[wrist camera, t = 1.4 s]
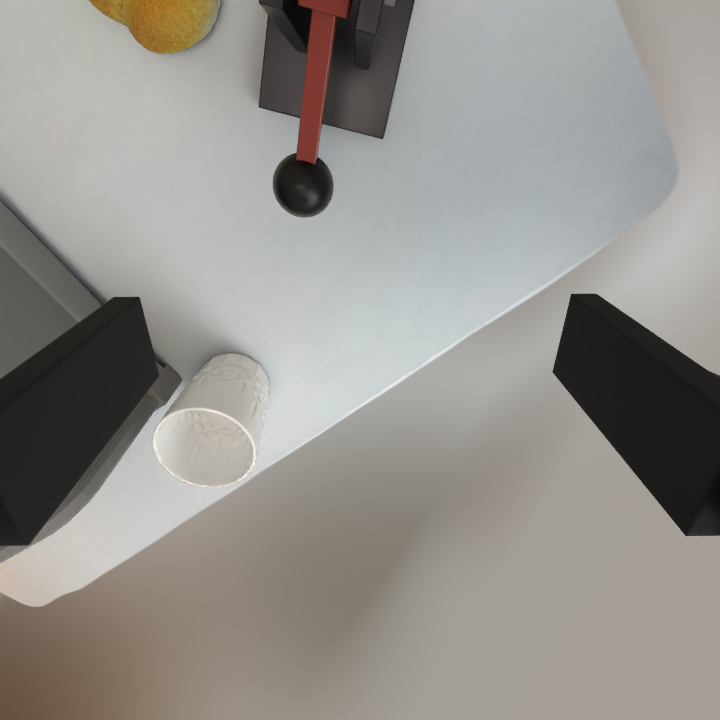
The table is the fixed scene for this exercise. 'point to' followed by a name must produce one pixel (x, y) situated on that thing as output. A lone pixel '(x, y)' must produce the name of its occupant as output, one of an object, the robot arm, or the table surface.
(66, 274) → the toaster
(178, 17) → the bread roll
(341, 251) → the table surface
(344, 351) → the table surface
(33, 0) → the table surface
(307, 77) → the lever
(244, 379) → the white cup
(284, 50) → the bracket
